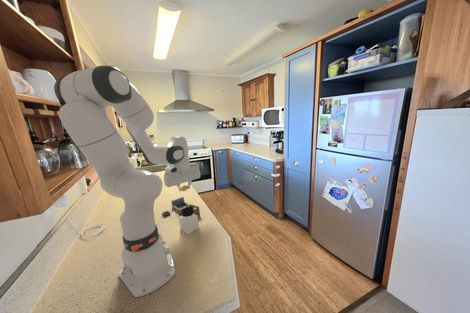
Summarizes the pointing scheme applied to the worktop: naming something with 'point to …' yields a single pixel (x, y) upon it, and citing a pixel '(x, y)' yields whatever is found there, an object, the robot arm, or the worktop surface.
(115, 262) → the worktop surface
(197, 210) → the launch ramp
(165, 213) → the square nut
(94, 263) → the worktop surface
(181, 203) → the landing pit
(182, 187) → the ball
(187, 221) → the medicine bottle
